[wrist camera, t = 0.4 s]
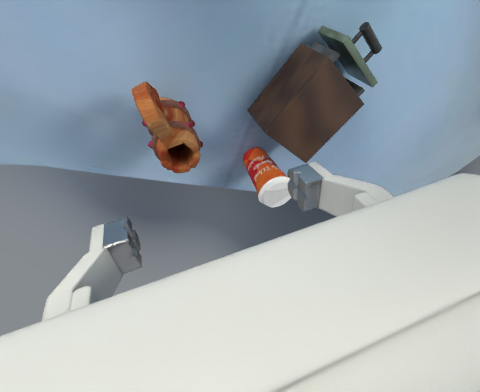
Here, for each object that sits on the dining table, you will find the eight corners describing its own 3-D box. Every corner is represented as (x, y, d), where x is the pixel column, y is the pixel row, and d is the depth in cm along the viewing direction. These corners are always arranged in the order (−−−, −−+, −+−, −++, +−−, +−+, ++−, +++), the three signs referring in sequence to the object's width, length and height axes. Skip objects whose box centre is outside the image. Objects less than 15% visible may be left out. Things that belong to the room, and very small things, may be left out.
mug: (197, 125, 53) (217, 169, 43) (161, 144, 54) (172, 191, 43) (157, 52, 43) (171, 87, 32) (112, 76, 43) (112, 117, 33)
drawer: (341, 2, 46) (371, 10, 41) (369, 50, 54) (397, 62, 49) (268, 92, 53) (285, 109, 47) (302, 123, 61) (320, 140, 55)
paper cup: (266, 138, 61) (294, 174, 52) (270, 163, 67) (296, 200, 57) (235, 150, 61) (257, 189, 51) (241, 175, 66) (263, 214, 56)
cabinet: (301, 42, 49) (330, 58, 43) (336, 85, 58) (364, 104, 51) (247, 110, 55) (265, 133, 48) (286, 140, 63) (306, 163, 57)
